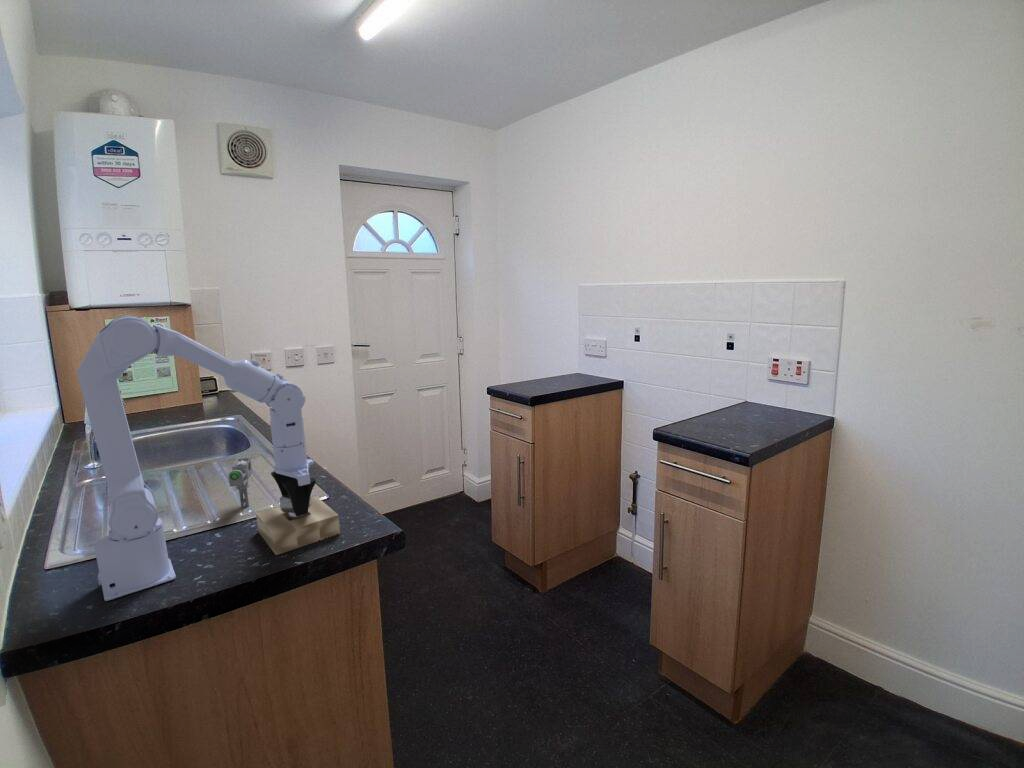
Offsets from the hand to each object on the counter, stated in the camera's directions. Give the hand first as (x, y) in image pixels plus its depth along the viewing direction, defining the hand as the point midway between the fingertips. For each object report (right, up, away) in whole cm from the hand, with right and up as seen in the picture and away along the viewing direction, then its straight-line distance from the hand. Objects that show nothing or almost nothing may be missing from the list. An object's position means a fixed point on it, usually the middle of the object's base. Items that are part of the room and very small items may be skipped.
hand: (296, 509), depth 100 cm
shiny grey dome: (0, -3, +1) cm, 3 cm away
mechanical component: (-17, -3, +14) cm, 22 cm away
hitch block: (0, -5, +1) cm, 5 cm away
